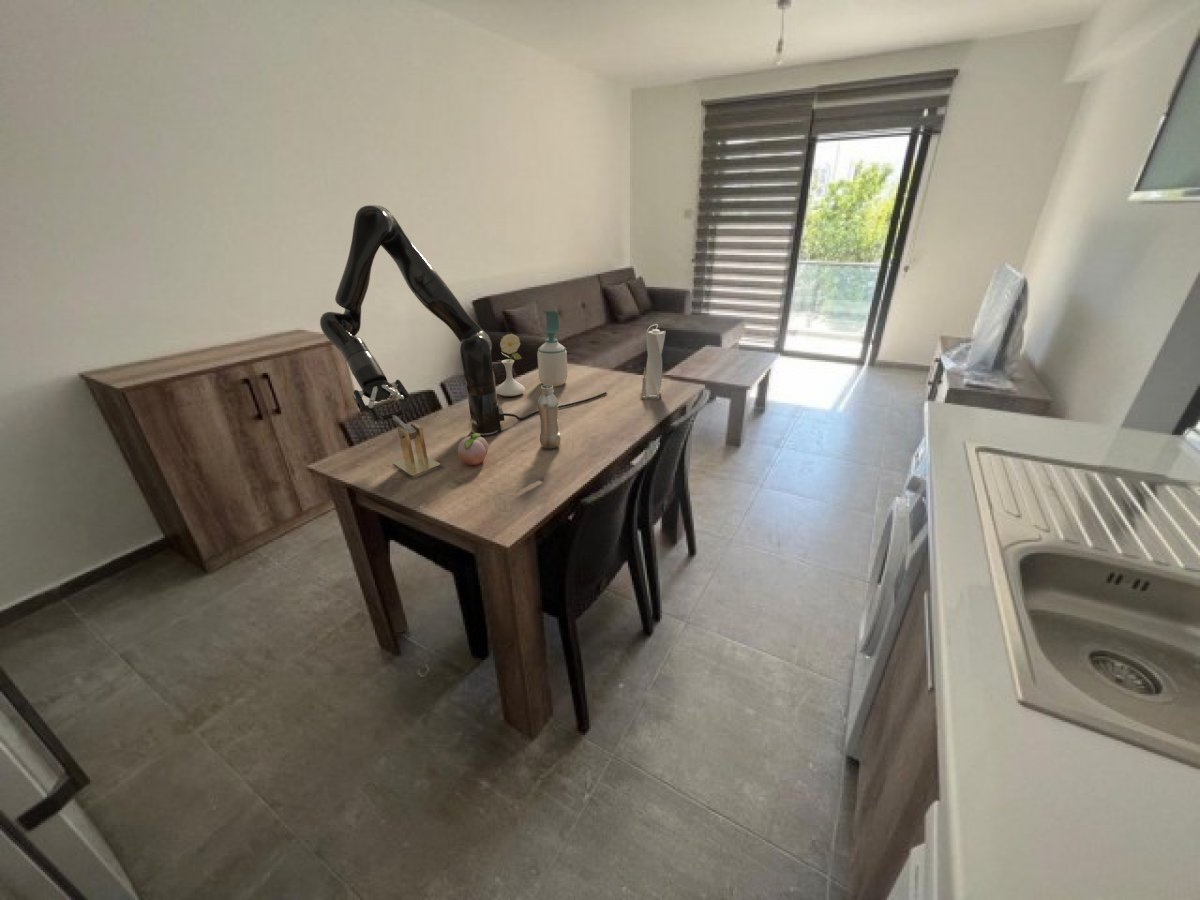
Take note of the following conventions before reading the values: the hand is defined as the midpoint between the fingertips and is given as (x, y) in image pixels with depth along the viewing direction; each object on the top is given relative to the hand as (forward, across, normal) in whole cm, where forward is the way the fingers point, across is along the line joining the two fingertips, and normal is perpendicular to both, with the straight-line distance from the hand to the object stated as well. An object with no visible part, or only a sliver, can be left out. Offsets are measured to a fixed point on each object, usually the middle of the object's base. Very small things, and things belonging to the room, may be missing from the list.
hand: (393, 416), depth 139 cm
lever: (+5, 0, -1) cm, 5 cm away
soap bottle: (-2, +78, +21) cm, 81 cm away
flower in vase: (-4, +58, +23) cm, 62 cm away
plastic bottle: (+30, +35, -10) cm, 47 cm away
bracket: (+16, 0, +3) cm, 16 cm away
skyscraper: (+28, +94, -8) cm, 98 cm away
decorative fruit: (+24, +12, -5) cm, 27 cm away
